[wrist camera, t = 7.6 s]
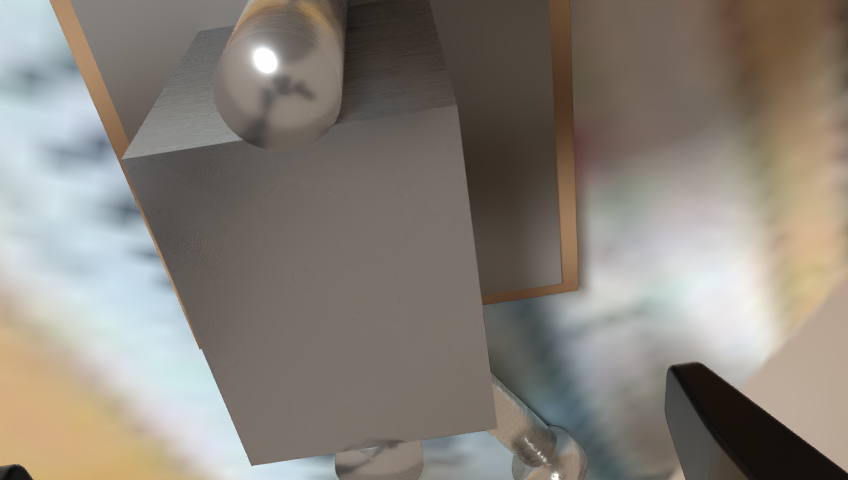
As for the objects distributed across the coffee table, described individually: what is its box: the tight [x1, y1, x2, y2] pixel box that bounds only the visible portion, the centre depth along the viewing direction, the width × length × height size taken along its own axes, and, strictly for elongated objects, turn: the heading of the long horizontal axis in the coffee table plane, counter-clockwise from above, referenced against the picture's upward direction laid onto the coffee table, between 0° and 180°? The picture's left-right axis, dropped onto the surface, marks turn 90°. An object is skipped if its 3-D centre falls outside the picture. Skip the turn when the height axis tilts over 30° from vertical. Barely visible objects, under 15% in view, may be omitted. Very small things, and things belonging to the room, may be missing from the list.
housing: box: [121, 0, 498, 480], centre depth 15 cm, size 10×5×6 cm, turn 8°
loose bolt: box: [487, 373, 587, 480], centre depth 25 cm, size 6×3×3 cm, turn 38°
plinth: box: [50, 0, 578, 349], centre depth 19 cm, size 11×11×3 cm
